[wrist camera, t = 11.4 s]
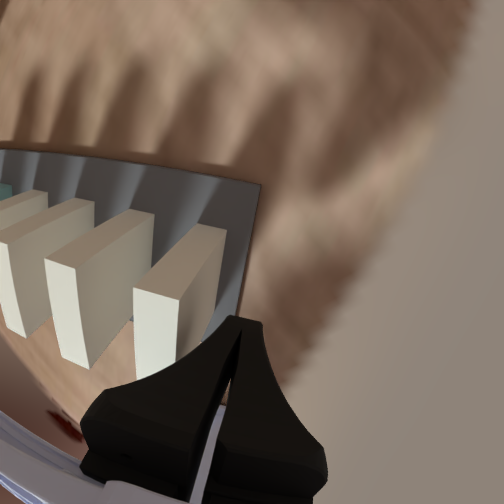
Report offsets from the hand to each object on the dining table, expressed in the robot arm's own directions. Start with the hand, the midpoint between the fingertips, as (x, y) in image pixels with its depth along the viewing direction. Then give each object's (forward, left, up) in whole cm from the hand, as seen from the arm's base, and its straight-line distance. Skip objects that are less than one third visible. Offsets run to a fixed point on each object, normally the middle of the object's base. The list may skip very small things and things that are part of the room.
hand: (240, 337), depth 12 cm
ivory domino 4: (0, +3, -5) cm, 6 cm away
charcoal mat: (0, +13, -5) cm, 14 cm away
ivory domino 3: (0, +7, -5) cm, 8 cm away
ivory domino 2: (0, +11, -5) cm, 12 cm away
